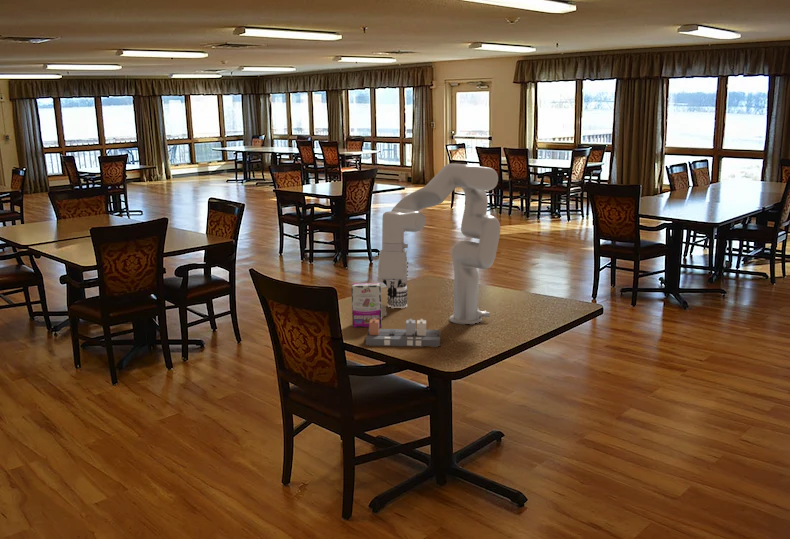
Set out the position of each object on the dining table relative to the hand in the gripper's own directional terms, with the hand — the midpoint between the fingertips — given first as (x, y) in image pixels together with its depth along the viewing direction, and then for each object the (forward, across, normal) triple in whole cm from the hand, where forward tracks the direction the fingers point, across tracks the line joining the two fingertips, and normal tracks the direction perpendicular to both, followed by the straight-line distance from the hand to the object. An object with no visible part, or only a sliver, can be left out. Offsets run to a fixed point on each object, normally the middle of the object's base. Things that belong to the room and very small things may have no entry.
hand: (392, 298), depth 257 cm
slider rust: (+13, +6, -1) cm, 15 cm away
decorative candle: (+15, -1, -48) cm, 50 cm away
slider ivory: (+13, -11, 0) cm, 17 cm away
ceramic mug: (+16, +8, -30) cm, 35 cm away
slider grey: (+13, -7, 0) cm, 15 cm away
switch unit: (+16, -4, -1) cm, 16 cm away
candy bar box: (+16, +10, -19) cm, 27 cm away
